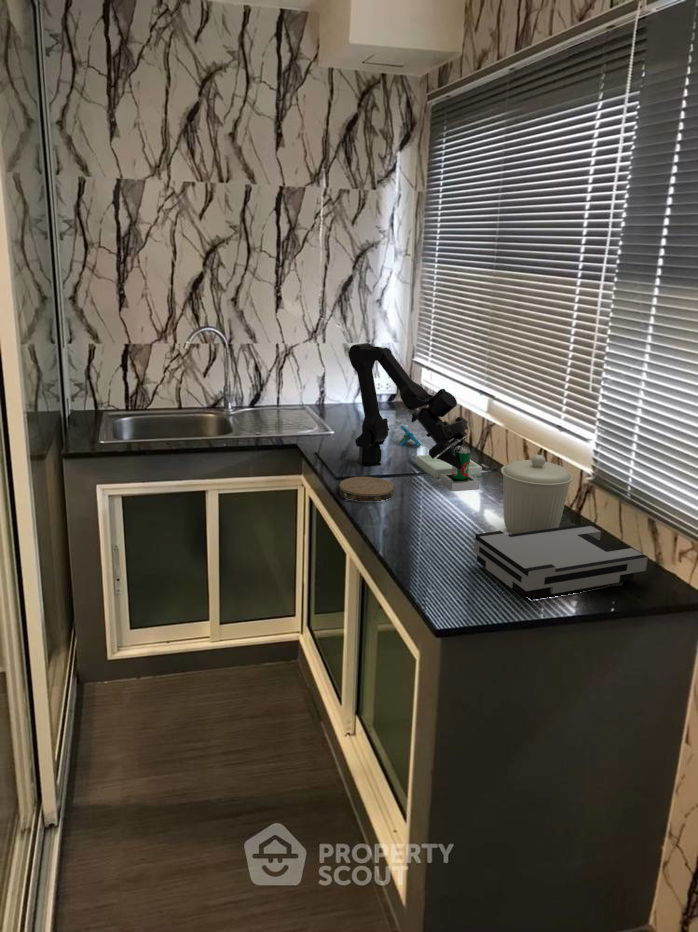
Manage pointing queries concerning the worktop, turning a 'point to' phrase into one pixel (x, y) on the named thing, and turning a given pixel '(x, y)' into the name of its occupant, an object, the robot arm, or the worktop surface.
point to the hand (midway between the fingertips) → (465, 465)
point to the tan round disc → (366, 489)
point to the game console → (556, 560)
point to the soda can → (464, 459)
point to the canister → (534, 494)
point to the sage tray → (442, 466)
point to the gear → (408, 437)
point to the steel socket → (459, 483)
